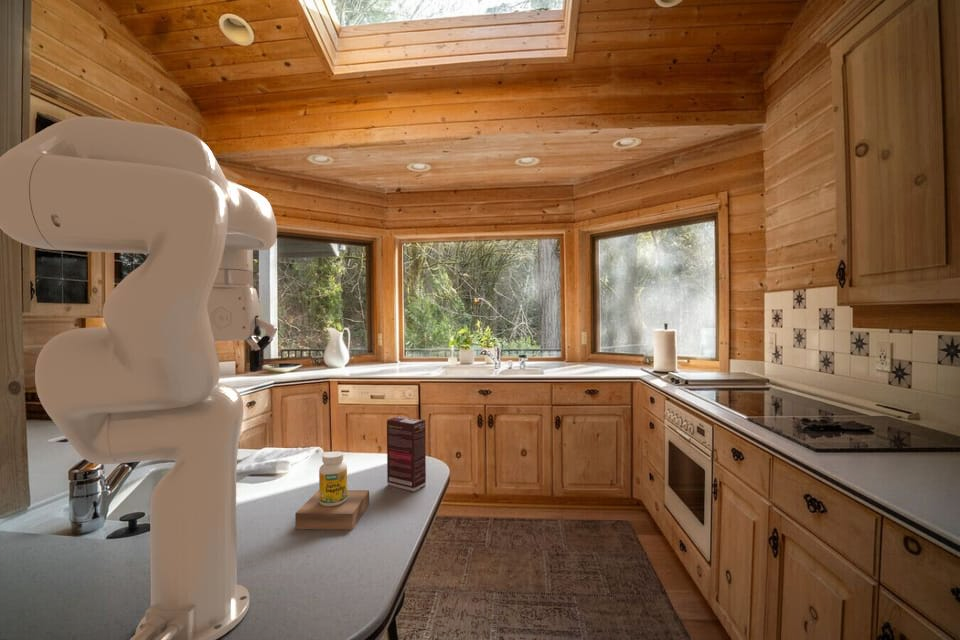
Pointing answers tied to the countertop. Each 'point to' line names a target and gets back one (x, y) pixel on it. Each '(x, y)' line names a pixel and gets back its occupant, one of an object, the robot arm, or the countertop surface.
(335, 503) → the supplement bottle
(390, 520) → the countertop surface
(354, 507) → the square wooden block
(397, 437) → the supplement box
